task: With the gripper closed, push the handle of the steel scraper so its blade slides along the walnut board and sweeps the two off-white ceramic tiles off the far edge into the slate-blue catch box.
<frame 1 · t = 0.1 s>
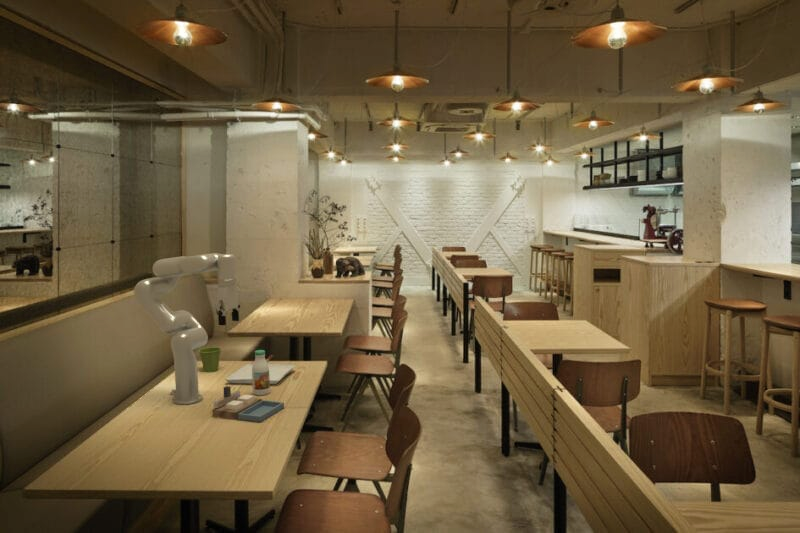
hand: (229, 322, 255), 37 cm above the table, tool pointing down, fingers open, 9 cm apart
milk bottle: (261, 393, 276), on the table
plant pot: (210, 370, 316), on the table
walnut board: (237, 411, 252), on the table
white tile 2: (246, 401, 255), point 3 cm above the table, touching walnut board
scraper: (227, 394, 253), point 7 cm above the table, slide at 0.0 cm
catch box: (261, 413, 248), on the table
square plate: (261, 378, 301), on the table
white tile 1: (234, 407, 247), point 3 cm above the table, touching walnut board
kitchen cleaver: (262, 362, 332), on the table
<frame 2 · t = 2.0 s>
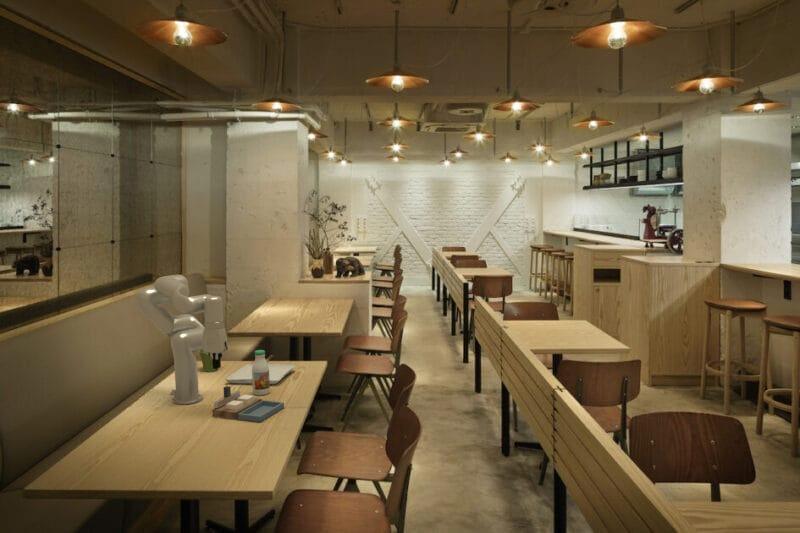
hand: (216, 368, 253), 18 cm above the table, tool pointing down, fingers closed
nothing on the table moved.
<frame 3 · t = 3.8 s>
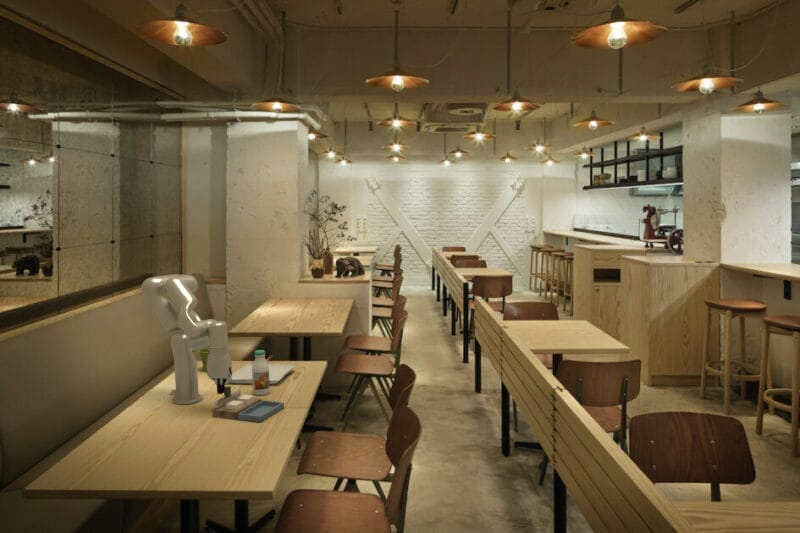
hand: (221, 393, 254), 7 cm above the table, tool pointing down, fingers closed
scraper: (227, 394, 253), point 7 cm above the table, slide at 0.2 cm, touching gripper
everything else where it was.
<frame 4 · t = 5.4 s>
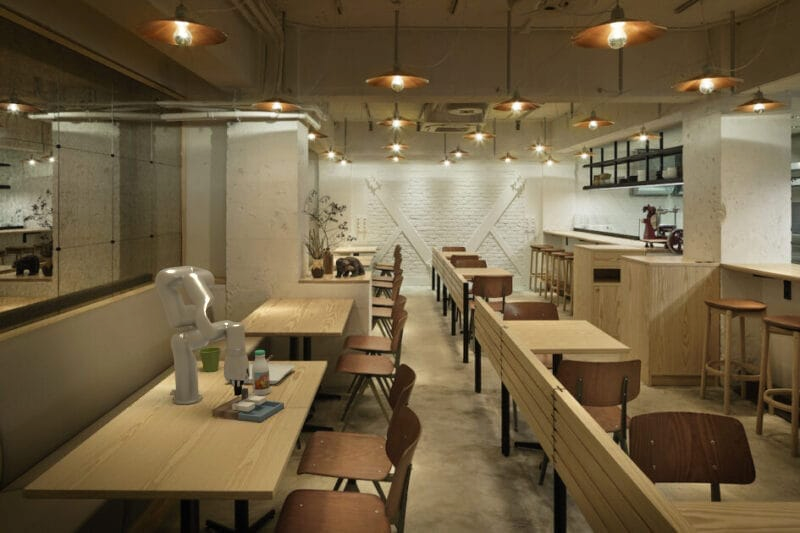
hand: (238, 394, 251), 7 cm above the table, tool pointing down, fingers closed
white tile 2: (257, 402, 253), point 3 cm above the table, touching scraper
scraper: (244, 396, 250), point 7 cm above the table, slide at 8.8 cm, touching gripper, white tile 2
white tile 1: (246, 408, 246), point 3 cm above the table, touching walnut board
everything else where it was.
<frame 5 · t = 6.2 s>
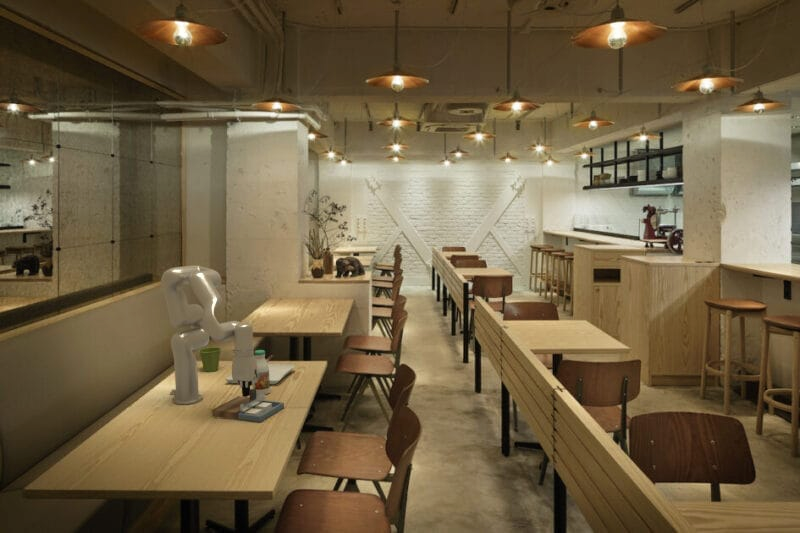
hand: (246, 395, 250), 7 cm above the table, tool pointing down, fingers closed
white tile 2: (263, 409, 252), resting on catch box
scraper: (252, 397, 249), point 7 cm above the table, slide at 12.7 cm, touching gripper
white tile 1: (253, 415, 245), resting on catch box
everything else where it was.
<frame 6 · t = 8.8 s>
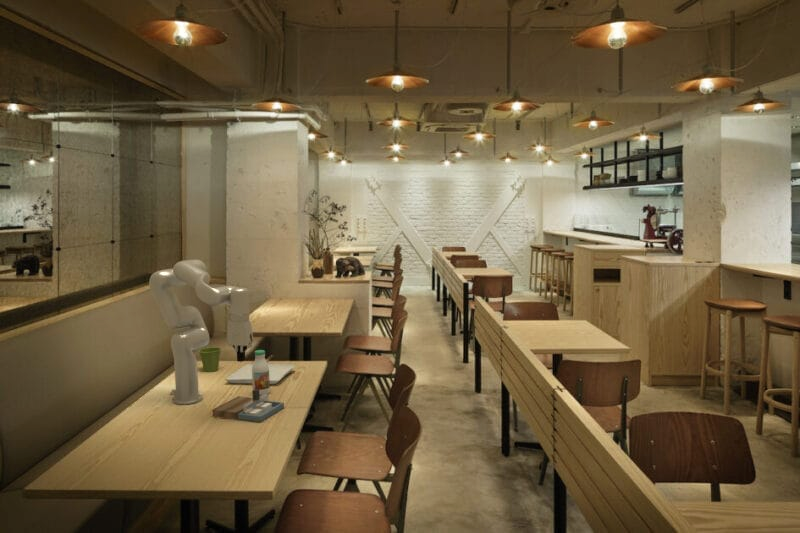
hand: (241, 360, 249), 22 cm above the table, tool pointing down, fingers closed
scraper: (256, 397, 248), point 7 cm above the table, slide at 14.3 cm
everything else where it was.
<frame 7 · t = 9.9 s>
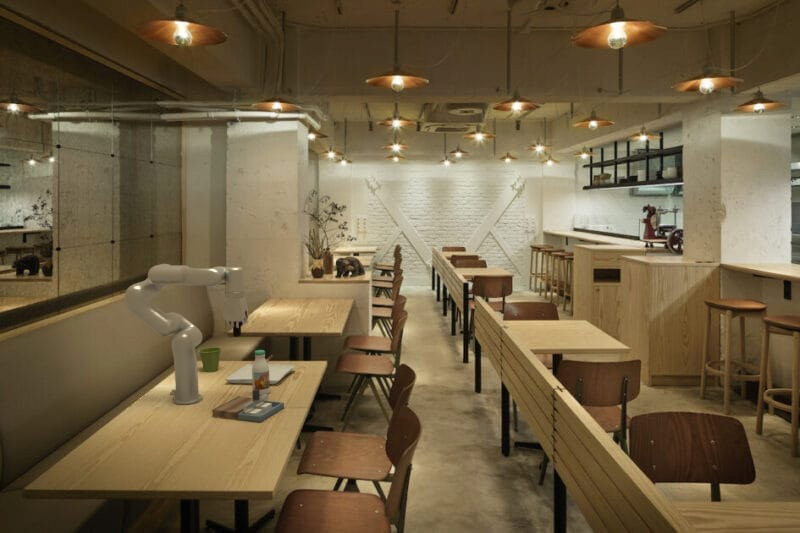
hand: (237, 336, 264), 29 cm above the table, tool pointing down, fingers closed
nothing on the table moved.
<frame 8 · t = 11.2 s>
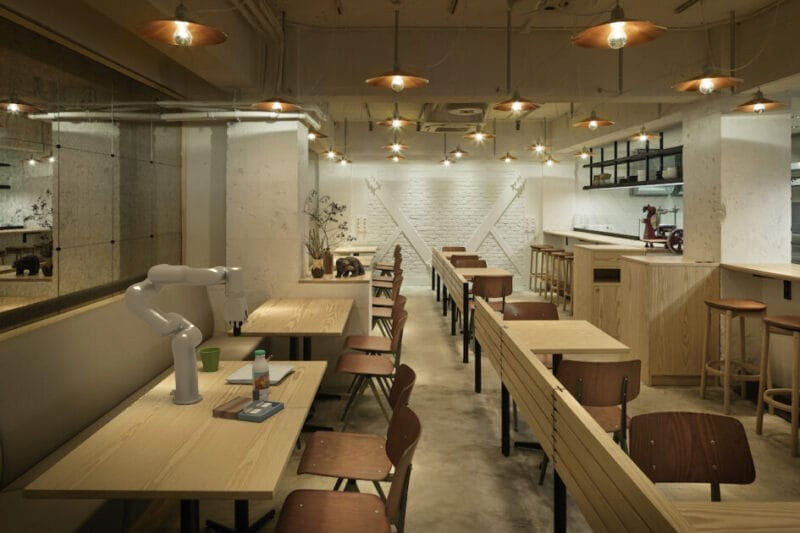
hand: (237, 335, 264), 29 cm above the table, tool pointing down, fingers closed
nothing on the table moved.
at the end: white tile 1 inside the target area on the catch box (4.2 cm from its centre), point 0.5 cm above the catch box's base; white tile 2 inside the target area on the catch box (4.3 cm from its centre), point 0.5 cm above the catch box's base; scraper slide at 14.3 cm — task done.
